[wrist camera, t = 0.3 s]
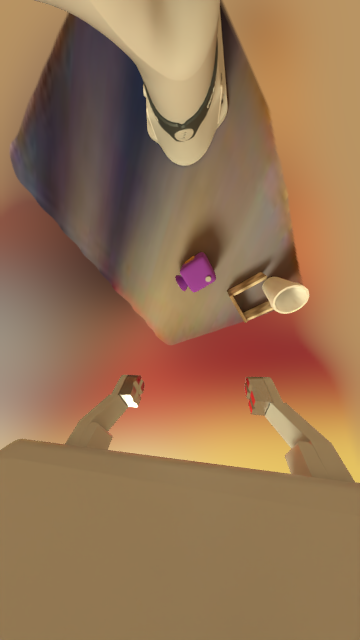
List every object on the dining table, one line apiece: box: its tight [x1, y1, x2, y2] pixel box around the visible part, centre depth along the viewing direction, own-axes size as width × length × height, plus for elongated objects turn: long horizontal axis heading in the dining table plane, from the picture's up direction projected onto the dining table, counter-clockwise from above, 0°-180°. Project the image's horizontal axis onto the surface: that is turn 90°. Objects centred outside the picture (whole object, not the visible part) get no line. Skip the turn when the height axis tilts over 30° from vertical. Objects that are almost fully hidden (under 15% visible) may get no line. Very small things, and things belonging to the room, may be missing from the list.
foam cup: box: [262, 277, 309, 314], centre depth 46 cm, size 10×9×13 cm
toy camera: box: [175, 252, 216, 292], centre depth 48 cm, size 11×14×10 cm
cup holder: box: [227, 272, 273, 323], centre depth 52 cm, size 13×14×6 cm
